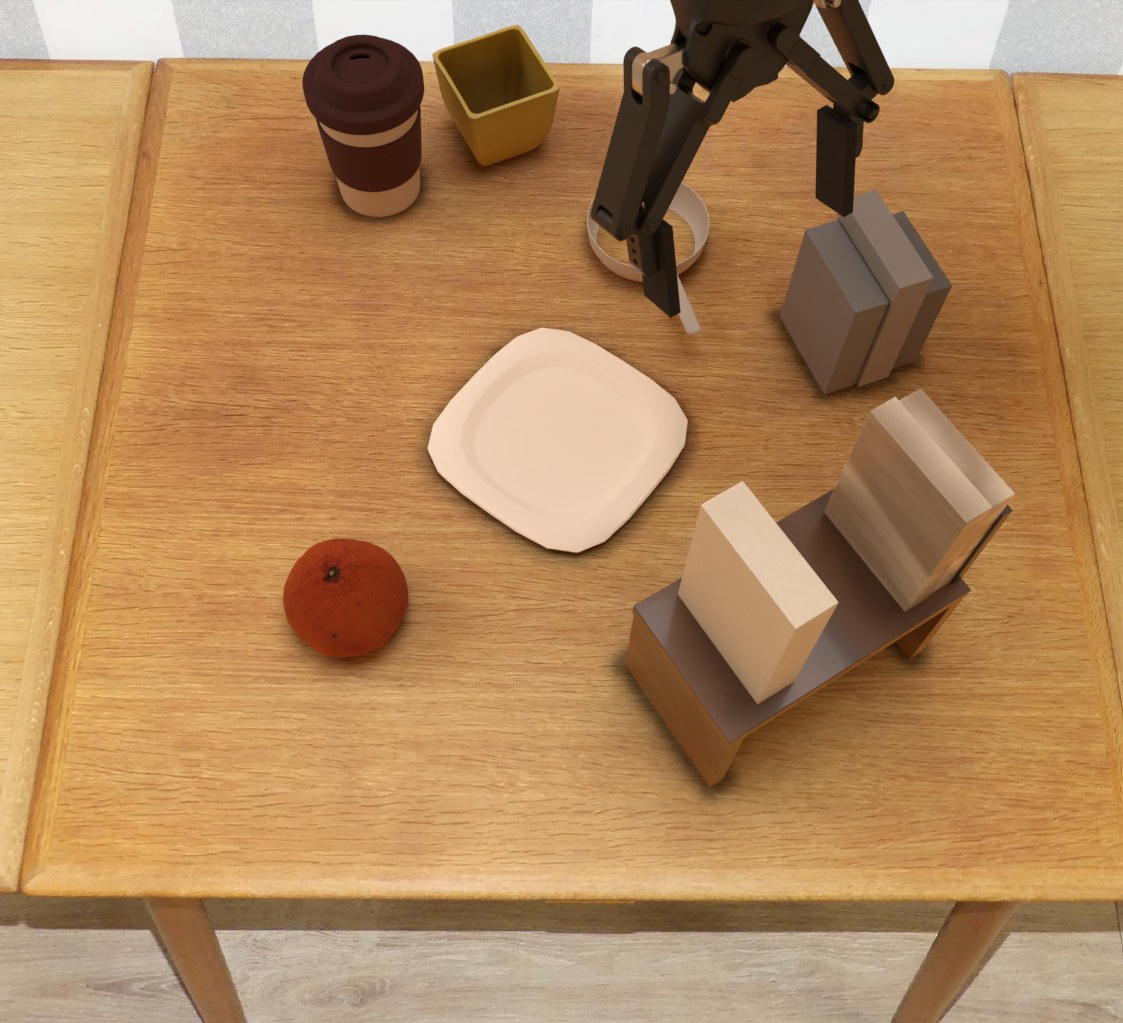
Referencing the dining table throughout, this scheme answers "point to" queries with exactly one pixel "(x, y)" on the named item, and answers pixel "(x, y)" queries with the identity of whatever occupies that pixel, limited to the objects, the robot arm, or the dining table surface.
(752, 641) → the white book
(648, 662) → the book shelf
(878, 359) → the grey books
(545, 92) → the flower pot
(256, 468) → the dining table surface
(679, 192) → the saucepan
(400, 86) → the coffee cup
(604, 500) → the plate
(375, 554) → the fruit
